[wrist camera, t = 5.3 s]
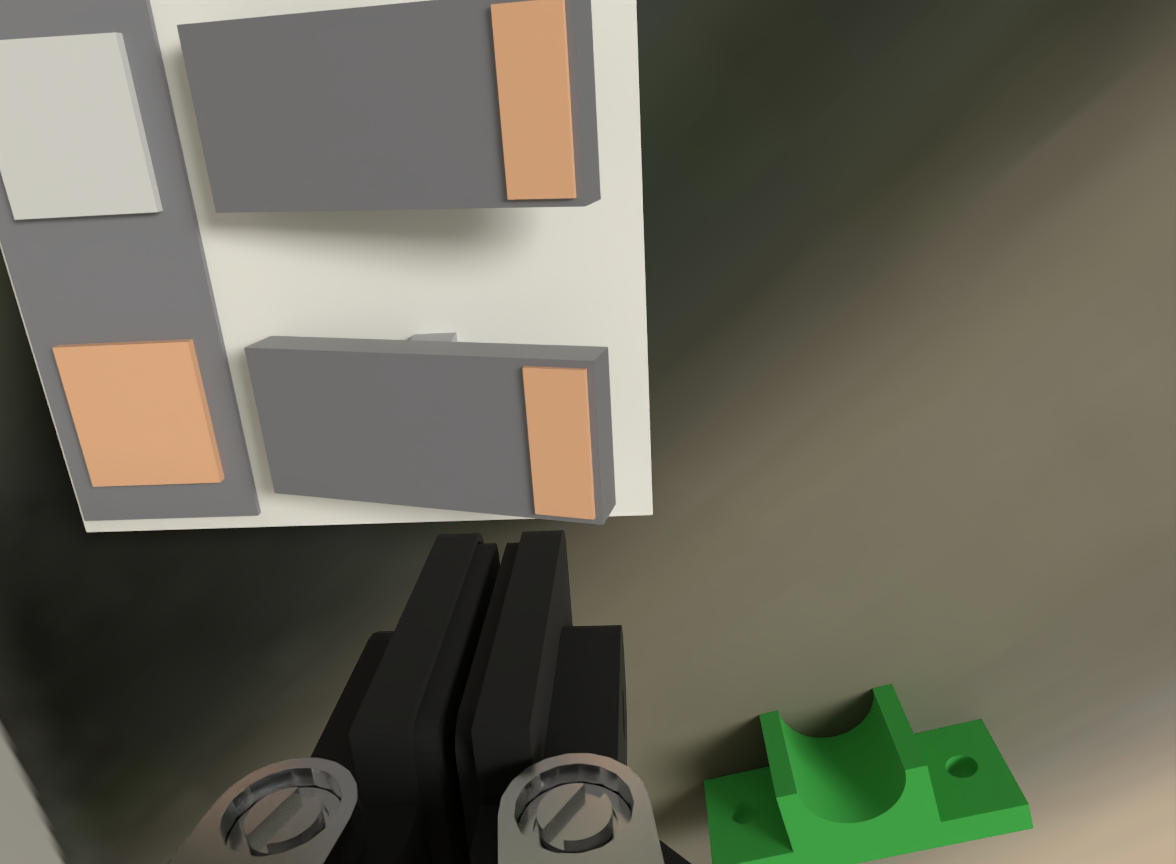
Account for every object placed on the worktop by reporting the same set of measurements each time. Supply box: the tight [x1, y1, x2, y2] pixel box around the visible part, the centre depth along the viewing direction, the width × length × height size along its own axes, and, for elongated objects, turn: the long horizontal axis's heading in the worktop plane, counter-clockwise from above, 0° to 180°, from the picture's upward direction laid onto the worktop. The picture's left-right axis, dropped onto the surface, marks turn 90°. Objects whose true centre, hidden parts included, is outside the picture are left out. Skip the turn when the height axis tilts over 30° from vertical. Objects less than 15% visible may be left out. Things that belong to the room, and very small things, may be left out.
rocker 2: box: [244, 336, 616, 525], centre depth 24 cm, size 4×10×1 cm, turn 93°
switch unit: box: [0, 0, 653, 532], centre depth 24 cm, size 24×18×5 cm
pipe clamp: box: [704, 684, 1033, 864], centre depth 33 cm, size 11×4×5 cm, turn 108°
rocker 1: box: [177, 0, 601, 213], centre depth 21 cm, size 4×10×1 cm, turn 93°
